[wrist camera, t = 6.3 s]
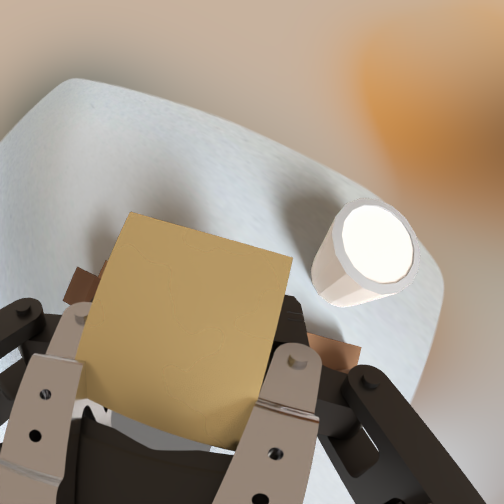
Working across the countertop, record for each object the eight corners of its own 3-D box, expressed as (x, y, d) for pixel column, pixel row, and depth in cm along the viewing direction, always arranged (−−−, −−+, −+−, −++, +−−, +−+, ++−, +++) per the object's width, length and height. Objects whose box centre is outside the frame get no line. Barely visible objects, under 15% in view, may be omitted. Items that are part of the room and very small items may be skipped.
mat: (73, 478, 14) (70, 480, 13) (95, 389, 18) (92, 390, 17) (179, 527, 14) (178, 530, 13) (212, 440, 17) (212, 442, 17)
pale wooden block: (158, 372, 13) (67, 387, 4) (181, 298, 14) (129, 211, 6) (228, 394, 13) (241, 452, 4) (249, 318, 14) (293, 257, 6)
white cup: (289, 288, 22) (314, 258, 16) (323, 224, 25) (352, 180, 18) (359, 328, 22) (406, 313, 15) (385, 262, 24) (428, 230, 18)
